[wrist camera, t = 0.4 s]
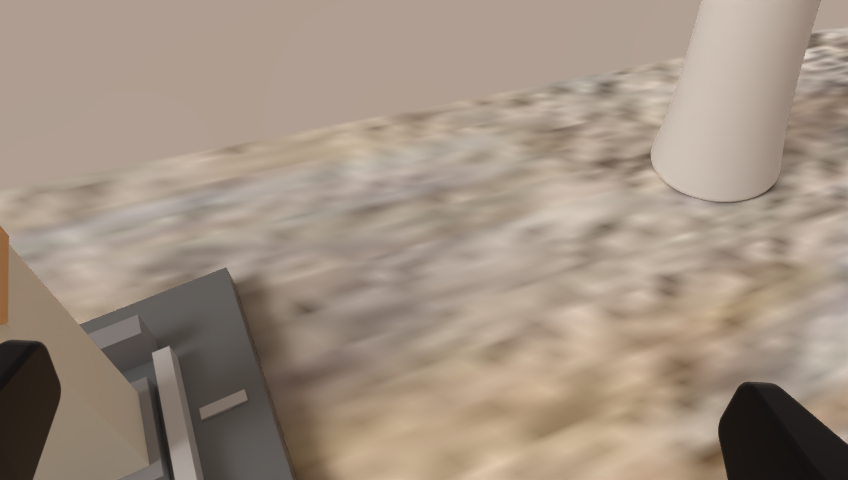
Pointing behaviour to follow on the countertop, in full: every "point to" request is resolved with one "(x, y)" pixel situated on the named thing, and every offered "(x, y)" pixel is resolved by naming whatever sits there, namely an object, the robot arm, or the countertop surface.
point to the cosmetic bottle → (734, 98)
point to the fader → (82, 389)
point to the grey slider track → (200, 380)
